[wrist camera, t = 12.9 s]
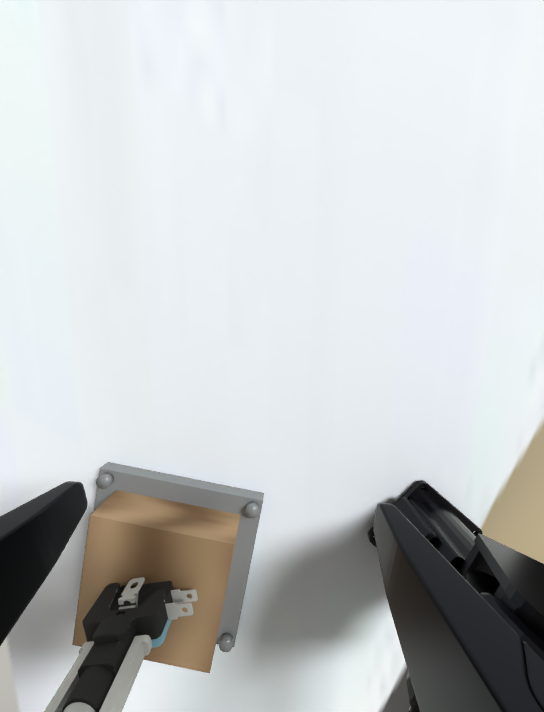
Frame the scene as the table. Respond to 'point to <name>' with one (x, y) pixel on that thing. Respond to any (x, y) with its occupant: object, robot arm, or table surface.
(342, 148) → the table surface
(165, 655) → the tan flat square block
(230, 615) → the base plate
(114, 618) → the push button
